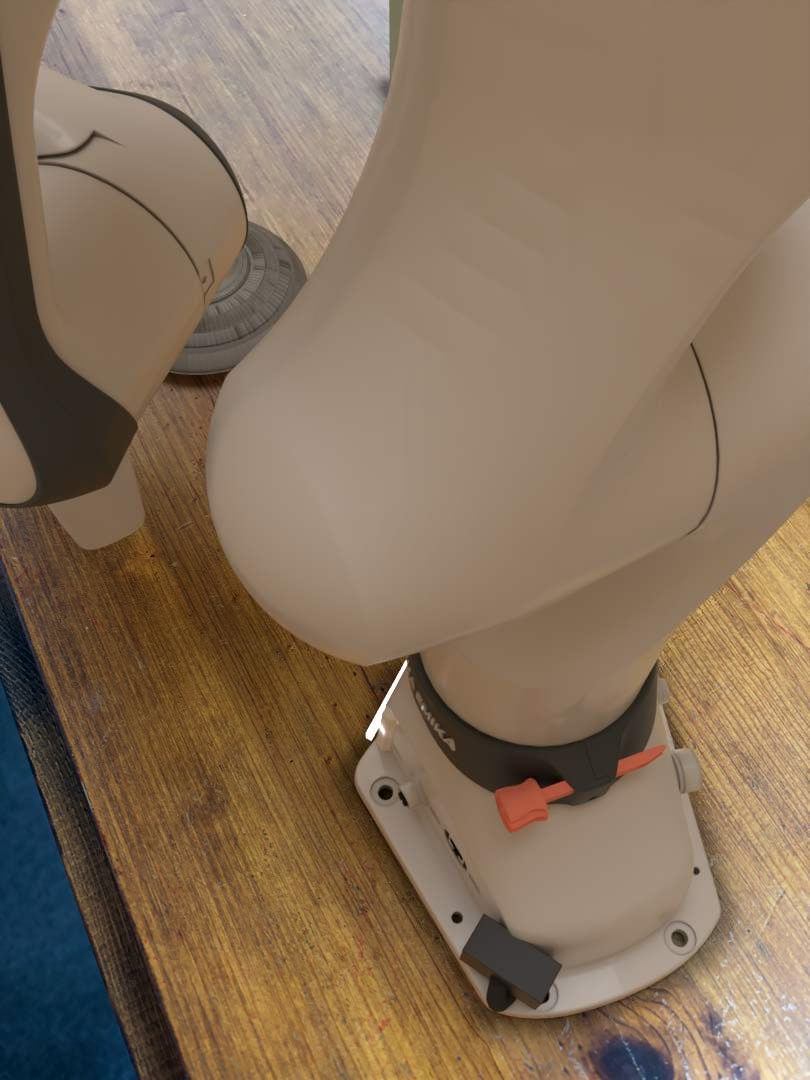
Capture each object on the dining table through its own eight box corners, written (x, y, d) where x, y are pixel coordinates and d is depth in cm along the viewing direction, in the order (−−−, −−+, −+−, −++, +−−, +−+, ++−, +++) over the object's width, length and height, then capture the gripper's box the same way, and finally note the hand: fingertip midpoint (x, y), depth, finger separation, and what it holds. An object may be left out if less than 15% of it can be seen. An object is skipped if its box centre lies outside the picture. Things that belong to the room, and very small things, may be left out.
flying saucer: (81, 269, 80) (61, 214, 76) (266, 209, 84) (258, 153, 79) (142, 415, 74) (125, 365, 69) (341, 345, 77) (337, 293, 72)
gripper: (-116, 209, 58) (-26, 372, 70) (9, 478, 49) (88, 612, 61) (-5, 169, 60) (65, 335, 72) (136, 423, 51) (189, 564, 63)
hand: (77, 464), depth 66 cm, fingers closed
